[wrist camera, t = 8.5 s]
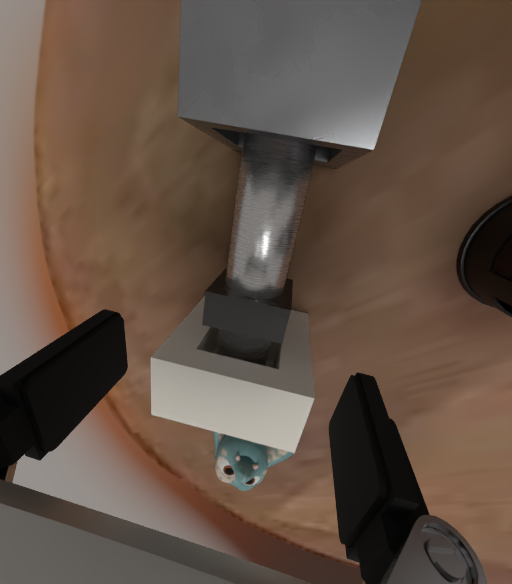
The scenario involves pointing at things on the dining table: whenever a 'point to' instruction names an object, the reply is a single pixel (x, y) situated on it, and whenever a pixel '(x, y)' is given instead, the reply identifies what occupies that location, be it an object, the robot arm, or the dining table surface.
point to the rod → (260, 249)
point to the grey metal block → (293, 70)
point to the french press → (487, 258)
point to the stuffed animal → (244, 460)
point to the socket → (235, 384)
